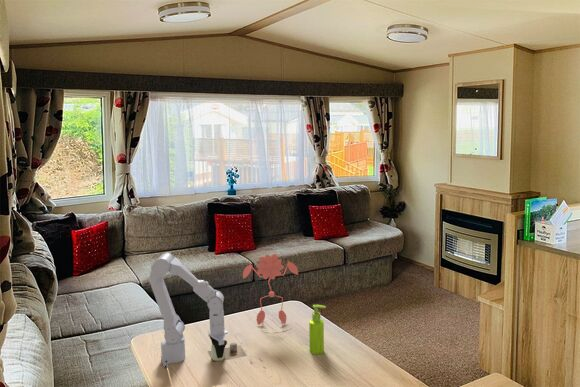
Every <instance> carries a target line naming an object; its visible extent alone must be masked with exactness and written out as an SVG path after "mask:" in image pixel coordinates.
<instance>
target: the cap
mask: <svg viewBox="0 0 580 387" xmlns="http://www.w3.org/2000/svg"><path fill="white" fill-rule="evenodd" d="M210 349H211V350H210V351H211V354H212V359H213V360H215V361H218V362H221V361H220V360H223V359H224V358H225V349H224V353H223V357H222V358H217V355H216V350H215V347H214V345H212V344H211V348H210ZM223 361H224V360H223Z"/></svg>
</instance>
